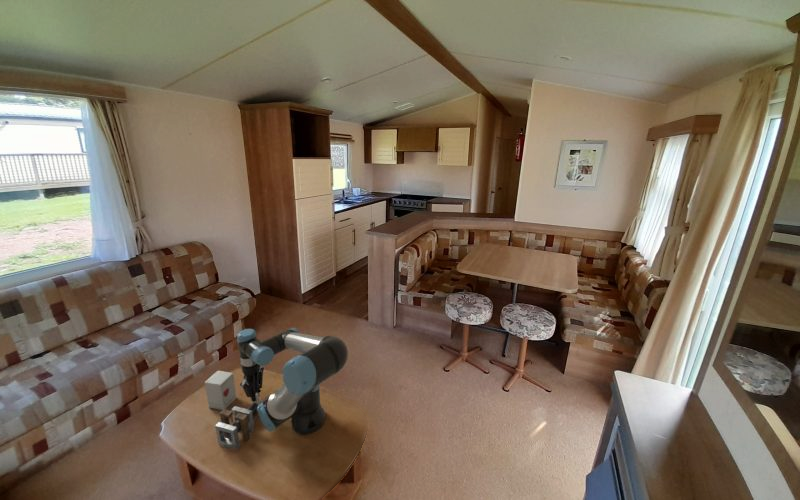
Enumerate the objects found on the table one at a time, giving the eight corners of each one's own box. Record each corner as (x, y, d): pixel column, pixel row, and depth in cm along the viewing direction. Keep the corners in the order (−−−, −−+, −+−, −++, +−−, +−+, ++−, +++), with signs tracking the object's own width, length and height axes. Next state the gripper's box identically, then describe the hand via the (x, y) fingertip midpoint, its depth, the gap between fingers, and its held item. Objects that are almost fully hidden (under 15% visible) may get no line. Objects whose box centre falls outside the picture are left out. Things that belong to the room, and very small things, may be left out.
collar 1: (240, 446, 134) (236, 426, 131) (236, 450, 132) (233, 430, 129) (222, 441, 136) (218, 421, 133) (218, 445, 135) (215, 425, 131)
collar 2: (254, 429, 142) (251, 410, 139) (251, 432, 141) (248, 413, 137) (237, 424, 145) (234, 406, 142) (234, 428, 143) (231, 409, 140)
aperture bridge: (250, 438, 138) (247, 415, 134) (247, 442, 136) (243, 419, 132) (227, 431, 141) (223, 408, 137) (223, 435, 139) (219, 413, 135)
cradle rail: (274, 400, 159) (273, 396, 158) (253, 424, 145) (252, 420, 144) (266, 399, 160) (266, 394, 159) (245, 422, 146) (244, 417, 145)
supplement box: (224, 411, 152) (219, 385, 148) (208, 407, 154) (203, 382, 149) (237, 397, 160) (233, 372, 156) (222, 394, 162) (217, 369, 158)
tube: (252, 409, 150) (251, 401, 148) (259, 411, 149) (258, 403, 147) (226, 437, 135) (224, 429, 134) (234, 439, 134) (233, 431, 133)
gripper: (253, 352, 149) (259, 393, 156) (232, 369, 137) (239, 413, 144) (267, 355, 147) (272, 396, 154) (246, 373, 135) (253, 417, 142)
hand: (256, 404), depth 149 cm, fingers closed
